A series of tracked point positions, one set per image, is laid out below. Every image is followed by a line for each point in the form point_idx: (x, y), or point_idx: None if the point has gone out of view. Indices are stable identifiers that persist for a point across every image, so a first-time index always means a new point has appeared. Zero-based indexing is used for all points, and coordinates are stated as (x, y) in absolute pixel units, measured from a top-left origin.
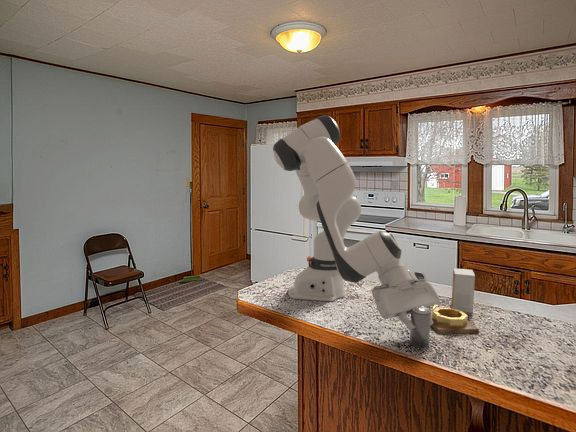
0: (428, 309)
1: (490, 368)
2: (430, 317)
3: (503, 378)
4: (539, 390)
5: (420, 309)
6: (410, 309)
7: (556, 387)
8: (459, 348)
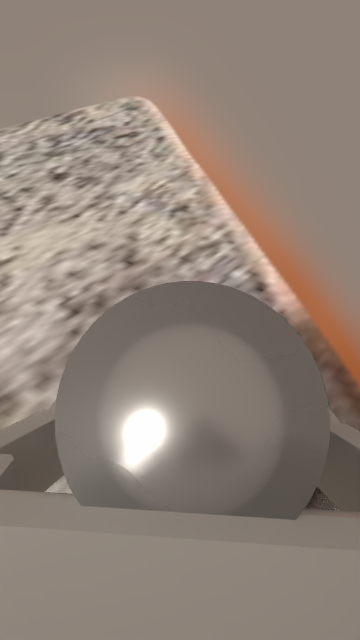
0: (100, 333)
1: (128, 198)
2: (55, 407)
3: (149, 166)
4: (130, 125)
5: (202, 387)
6: (331, 511)
7: (86, 120)
8: (75, 309)
